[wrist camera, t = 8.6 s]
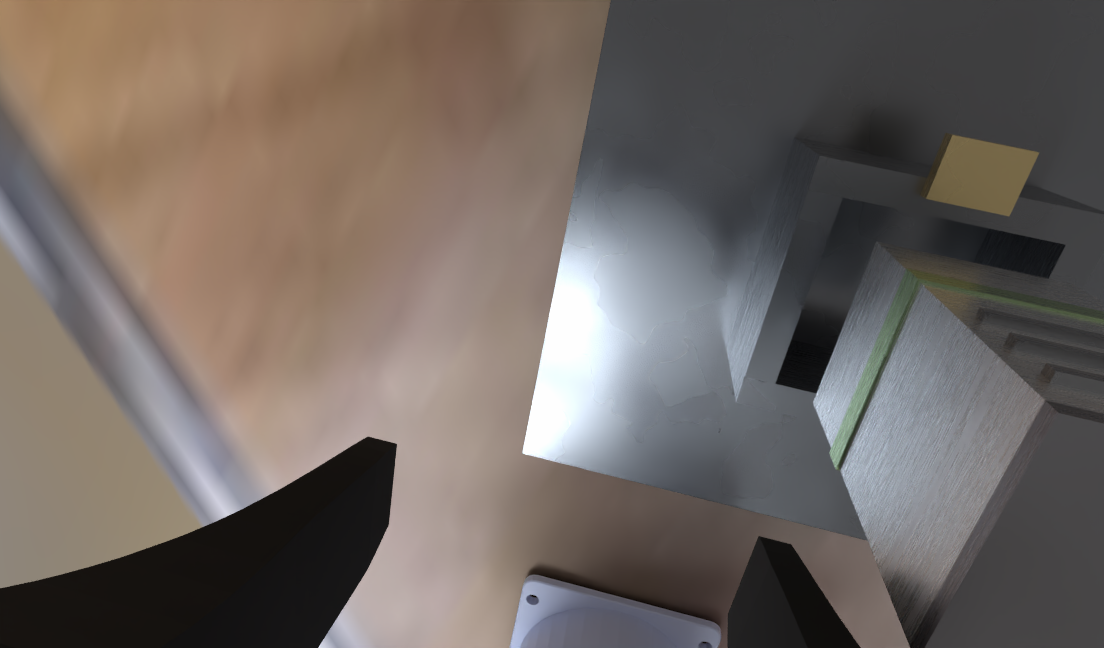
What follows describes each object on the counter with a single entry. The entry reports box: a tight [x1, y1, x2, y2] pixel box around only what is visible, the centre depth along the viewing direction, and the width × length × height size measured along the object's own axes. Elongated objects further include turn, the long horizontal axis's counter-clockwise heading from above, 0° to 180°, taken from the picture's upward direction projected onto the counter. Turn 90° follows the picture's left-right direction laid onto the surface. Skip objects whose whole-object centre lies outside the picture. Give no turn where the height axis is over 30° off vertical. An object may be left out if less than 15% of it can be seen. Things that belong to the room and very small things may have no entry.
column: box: [813, 241, 1104, 648], centre depth 11 cm, size 4×4×7 cm
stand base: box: [523, 0, 1104, 541], centre depth 18 cm, size 18×18×5 cm
